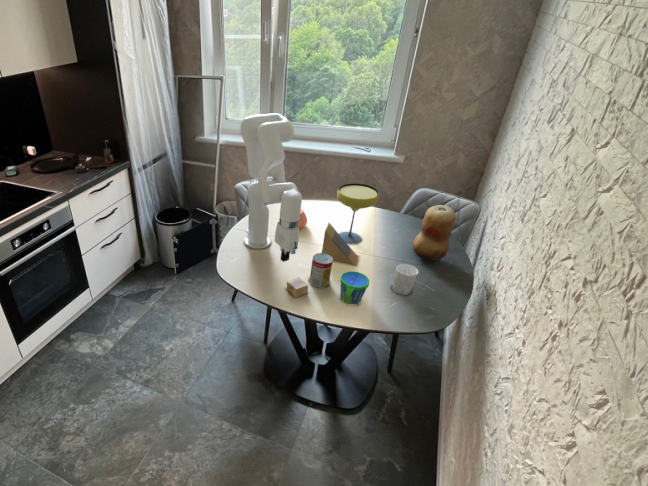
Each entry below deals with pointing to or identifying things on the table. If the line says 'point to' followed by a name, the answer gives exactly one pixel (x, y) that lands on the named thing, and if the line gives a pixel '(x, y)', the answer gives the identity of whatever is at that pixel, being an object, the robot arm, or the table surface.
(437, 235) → the butternut squash
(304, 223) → the sugar bowl
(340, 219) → the table surface
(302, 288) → the block
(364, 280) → the snack cup
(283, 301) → the table surface
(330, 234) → the sandwich container
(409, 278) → the white cup
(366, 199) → the cocktail glass
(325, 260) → the canned food
